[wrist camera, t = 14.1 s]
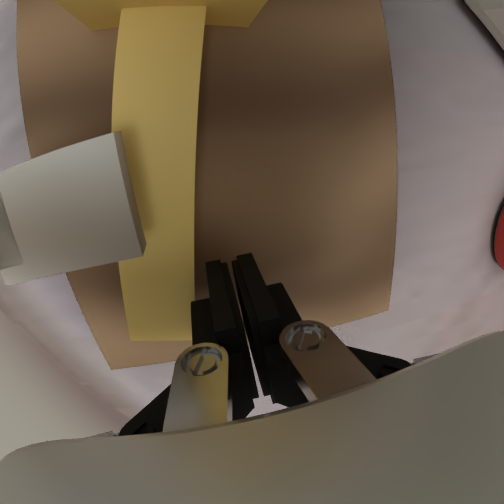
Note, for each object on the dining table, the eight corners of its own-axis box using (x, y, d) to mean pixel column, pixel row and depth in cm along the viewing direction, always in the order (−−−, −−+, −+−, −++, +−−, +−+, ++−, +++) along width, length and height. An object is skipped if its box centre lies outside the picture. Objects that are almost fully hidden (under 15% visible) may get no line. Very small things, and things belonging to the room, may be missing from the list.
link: (117, -79, 5) (92, -150, 1) (258, -80, 7) (296, -153, 2) (102, 309, 12) (74, 400, 7) (230, 307, 13) (253, 400, 9)
